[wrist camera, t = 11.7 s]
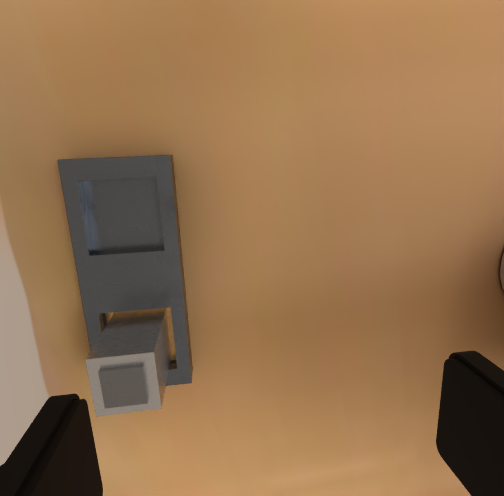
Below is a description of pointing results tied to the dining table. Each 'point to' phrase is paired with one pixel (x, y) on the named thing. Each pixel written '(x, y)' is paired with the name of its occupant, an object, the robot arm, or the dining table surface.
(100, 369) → the block
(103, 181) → the rail
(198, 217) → the dining table surface
